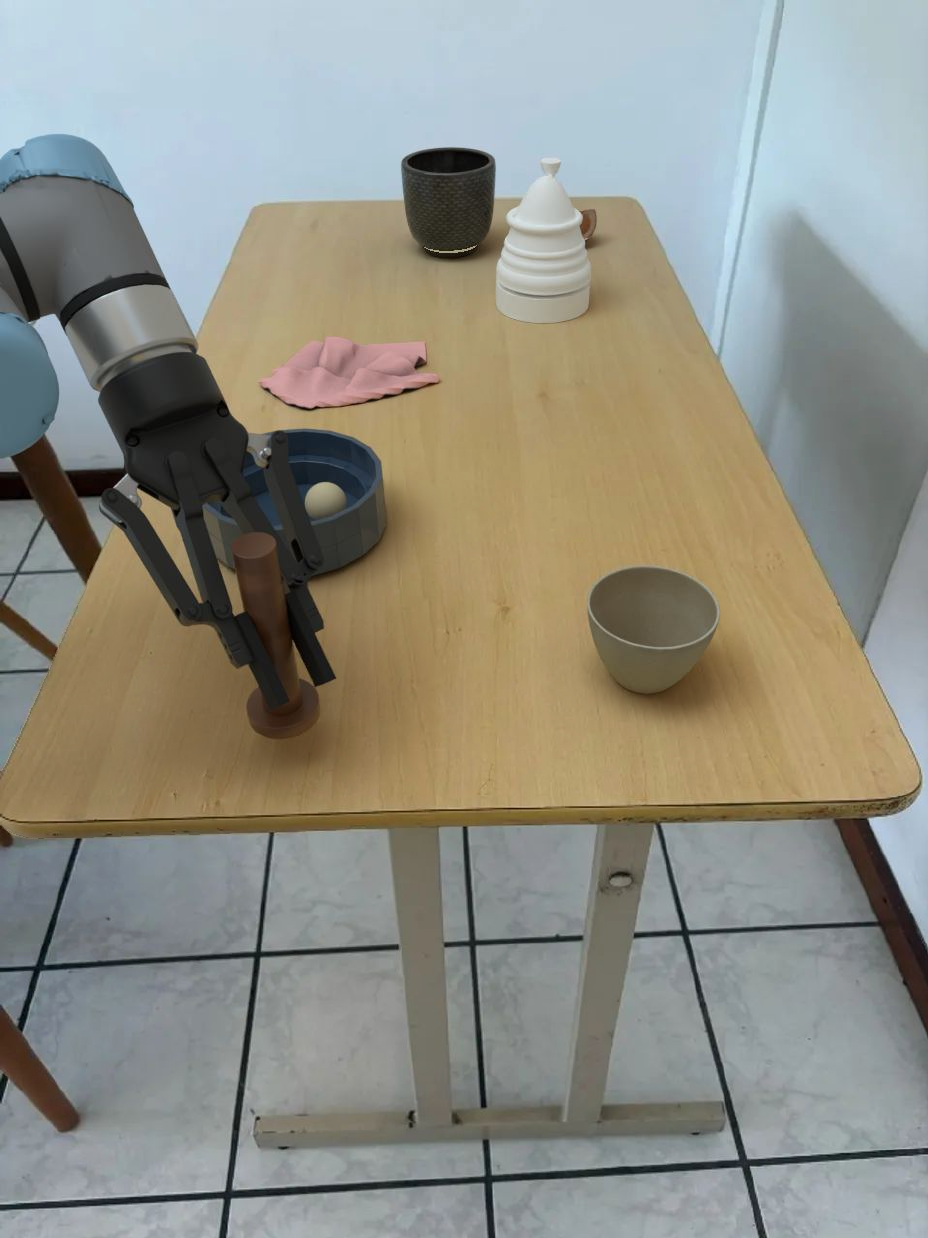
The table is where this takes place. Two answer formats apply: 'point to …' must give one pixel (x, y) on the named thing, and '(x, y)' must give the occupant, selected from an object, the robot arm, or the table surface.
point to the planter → (449, 198)
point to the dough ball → (325, 500)
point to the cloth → (348, 373)
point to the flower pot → (651, 625)
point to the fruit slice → (588, 223)
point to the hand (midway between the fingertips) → (302, 693)
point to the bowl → (311, 464)
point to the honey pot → (544, 256)
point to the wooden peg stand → (272, 638)
